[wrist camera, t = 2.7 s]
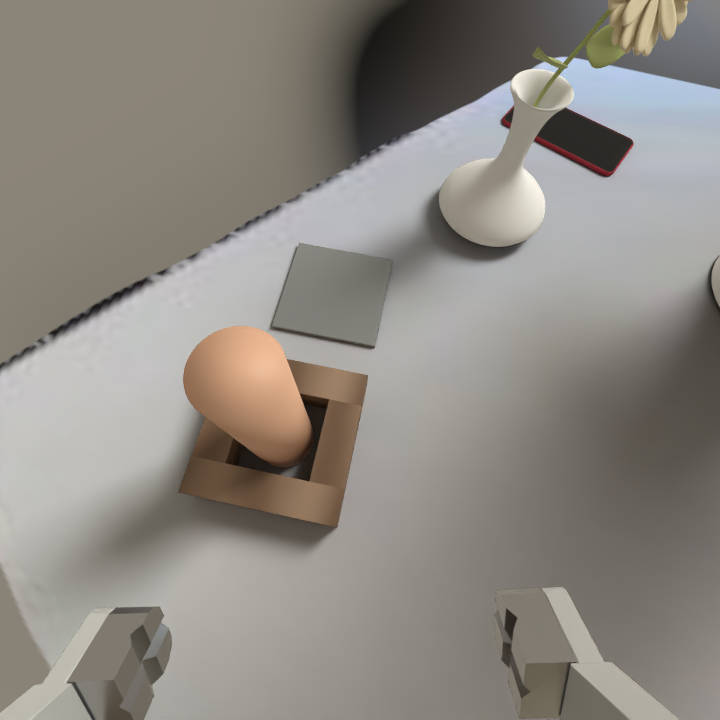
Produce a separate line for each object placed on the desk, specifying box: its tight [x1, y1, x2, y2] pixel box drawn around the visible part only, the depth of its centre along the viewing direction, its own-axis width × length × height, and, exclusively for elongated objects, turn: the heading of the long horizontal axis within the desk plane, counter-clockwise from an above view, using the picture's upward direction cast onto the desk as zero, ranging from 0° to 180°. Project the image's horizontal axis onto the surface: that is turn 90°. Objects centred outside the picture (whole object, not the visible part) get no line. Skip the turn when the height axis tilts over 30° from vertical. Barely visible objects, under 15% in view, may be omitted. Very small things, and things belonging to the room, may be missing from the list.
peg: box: [183, 326, 314, 468], centre depth 27 cm, size 5×5×16 cm
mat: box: [272, 243, 393, 348], centre depth 39 cm, size 10×10×1 cm
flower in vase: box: [439, 0, 693, 247], centre depth 33 cm, size 13×11×25 cm
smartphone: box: [502, 106, 633, 176], centre depth 49 cm, size 7×1×15 cm
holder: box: [178, 359, 368, 527], centre depth 33 cm, size 12×12×3 cm
